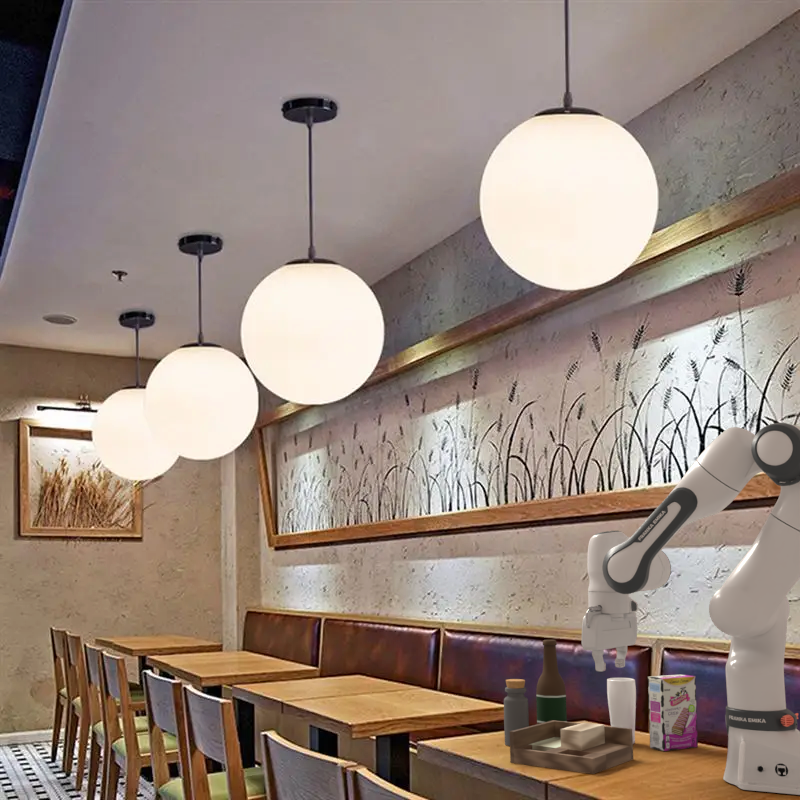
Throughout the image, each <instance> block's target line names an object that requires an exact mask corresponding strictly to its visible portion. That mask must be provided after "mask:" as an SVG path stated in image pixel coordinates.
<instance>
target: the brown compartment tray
mask: <svg viewBox="0 0 800 800" xmlns="http://www.w3.org/2000/svg"><path fill="white" fill-rule="evenodd" d="M581 723H582V722H581ZM581 723H580V722H573V721H567V722H564V721H555V720H552V721H548V722H544V723H540V724H537V723H536V724H532V725H529V727H525V728H521V729H517V730H513V731H510V746H509V752H510V753H509V758H510V761H509V762H510V763H512V764H519V765H527V766H532V767H533V766H535V767H542V768H547V769H554V770H562V771H568V772H576V773H577V772H578V773H582V774H584V773H585V774H591V775H595V774H597V773H600V772H603V771H605V770H609V769H611V768H613V767H616V766H619V765H622V764H624V763H627V762H630V761H633V760H634V744H633V739H632V729H630V728H621V727H611V725H604V731H605V743H604V744H601V745H598V746H595V747H592V748H588V749H585V750H582V751H580V750H572V749H564V748H561V730H560V729H563V728H566V727H570V726H573V725H577V724H581Z"/></svg>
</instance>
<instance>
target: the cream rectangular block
mask: <svg viewBox="0 0 800 800" xmlns="http://www.w3.org/2000/svg"><path fill="white" fill-rule="evenodd" d="M604 726H605V724H600V723H593V722H581V724H577V725H573V726H570V727H566V728H563V729H560V730H561V748H564V749H572V750H580V751H582V750H585V749H588V748H592V747H595V746H598V745H601V744H604V743H605V731H604Z"/></svg>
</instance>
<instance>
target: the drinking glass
mask: <svg viewBox="0 0 800 800" xmlns="http://www.w3.org/2000/svg"><path fill="white" fill-rule="evenodd" d="M636 688H637V687H636V679H634V678H631V677H610V678H607V679H606V694H607V704H608V705H607V706H608V711H609V719H610V720H609V721H610V726H611V727H621V728H630V729H632V739H633V745H634V744H635V743H636V735H635V734H636V732H635V731H636V708H637V705H636V703H637V689H636Z"/></svg>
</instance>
